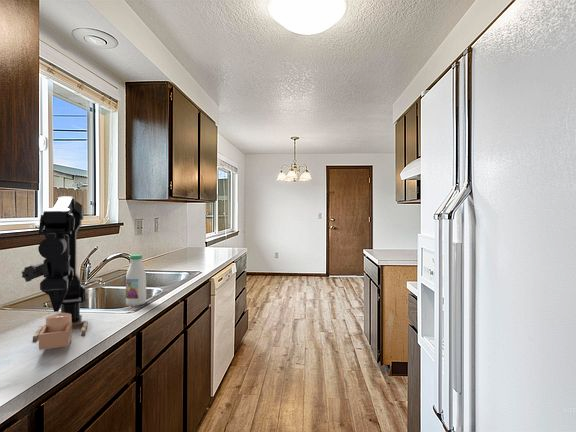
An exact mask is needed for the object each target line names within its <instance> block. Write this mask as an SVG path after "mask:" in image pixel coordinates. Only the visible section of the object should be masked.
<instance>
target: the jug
mask: <svg viewBox="0 0 576 432" xmlns="http://www.w3.org/2000/svg"><path fill="white" fill-rule="evenodd" d="M72 323H73V322H72V321H71V314H70V313H61V312H58V313H57V312H56V313H54V314H50V315H47V316H46V317H45V324H44V325H42V326H43V328H42V330H41V331H40V333H39V335H38V336H39V338H38V351H42V350H47V349H54V348H55V349H56V348H63V347H69V346H70V344H71V343H72V342H73V339H72V338H73V328H72Z"/></svg>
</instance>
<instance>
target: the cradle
mask: <svg viewBox="0 0 576 432" xmlns="http://www.w3.org/2000/svg"><path fill="white" fill-rule="evenodd" d="M43 326H44V325H40V326H38V328H37V329H36V330H35V332H34V334H33V336H32V342H37V341H39V336H38V335H39V333H40V331H41V330H42V328H43ZM78 328H81V331H80V332H81V336H86V333H87V329H88V321H77V322H72V329H78Z"/></svg>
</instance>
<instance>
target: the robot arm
mask: <svg viewBox="0 0 576 432" xmlns="http://www.w3.org/2000/svg"><path fill="white" fill-rule="evenodd" d="M42 212H43V213H40V219H39V227H38V232H37V233H38V236H44V239H43V240H42V241H41V242H40V243H39V245H38V248H37V249H38V253H39V254H40V256H41V257H42V258H44V259H43V262H40V263H37V264H36V265H32V264H31V265H29V266H25V267H24V269H22V270H21V274H22V275H21V277H22V279H23V278H24V280H25V283H28V282H30V281H32V280H34V279H37V278H40V277H42V276H43V279H42V280H41V281H40V282H39V291H41V292H42V293H44V294H47V295H48V297H49V300H50V304H51V307H52V309H53V312H54V313H57V312H58V313H59V311H60V313H70V314H71V321H72V323H77V322H81V320H82V317H83V316H82V315H81V312H80V307H81V306H80V304H84V303H85V302H86V301H87V293H86V288H85V287H84V285H83V284H82V279H81V277H80V276H79V275H78V273H77V232H78V230H79V229H80V228H81V226H82V221H83V220H84V217H85V216H84V208H83V205H82V204H81V203H80V202H78V201H77V200H76V197H73V196H57V198H56V203H54V205H53V207H51V208H46V209H45V210H44V211H42Z"/></svg>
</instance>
